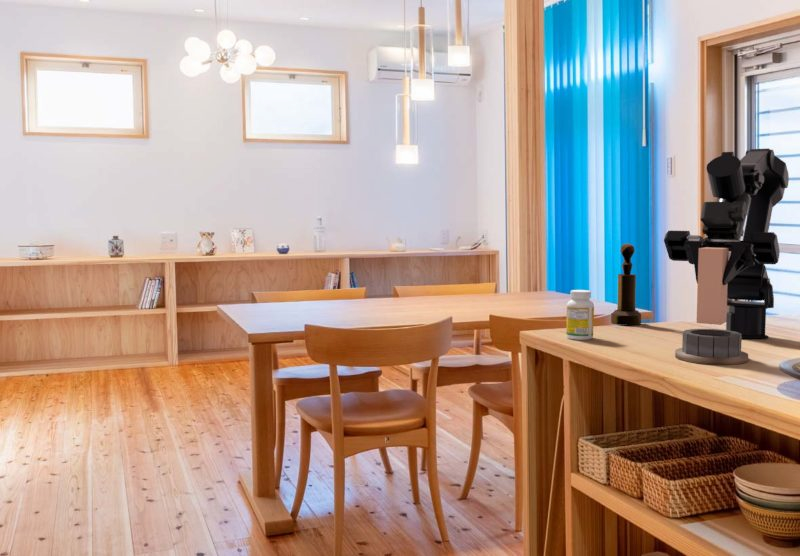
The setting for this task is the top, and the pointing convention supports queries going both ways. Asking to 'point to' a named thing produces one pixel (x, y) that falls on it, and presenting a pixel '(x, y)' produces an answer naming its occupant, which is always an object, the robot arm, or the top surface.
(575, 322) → the supplement bottle
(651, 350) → the top surface
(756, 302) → the robot arm
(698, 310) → the terracotta peg
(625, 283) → the dark wooden chess piece
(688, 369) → the top surface
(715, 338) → the socket
